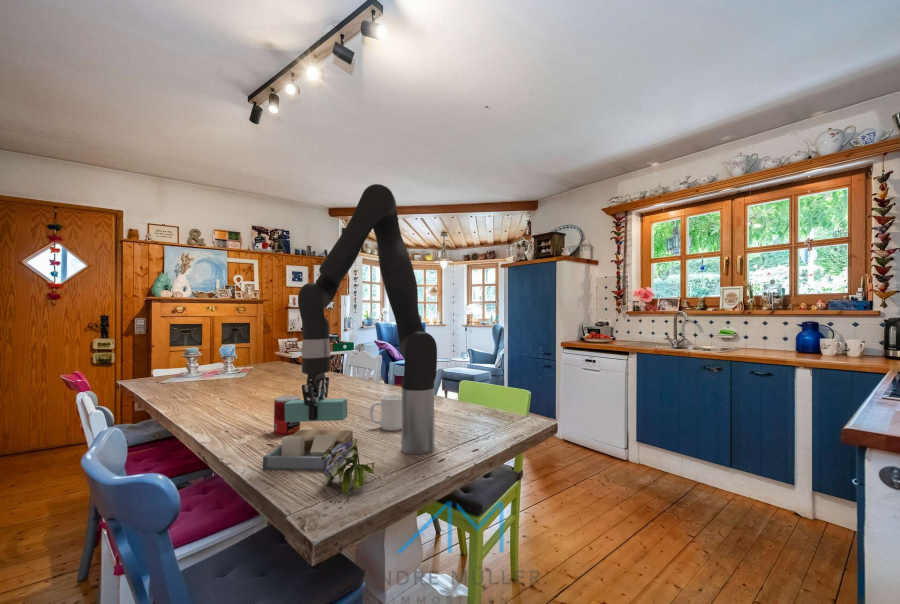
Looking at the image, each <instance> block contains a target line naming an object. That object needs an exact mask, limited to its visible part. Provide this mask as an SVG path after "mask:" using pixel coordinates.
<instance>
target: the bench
mask: <svg viewBox="0 0 900 604" xmlns="http://www.w3.org/2000/svg"><path fill="white" fill-rule="evenodd" d="M315 435H334V436H335V439H336V442H335V445H334V447H335V446H336V445H337V444H338V443H342V445H343V444H345V443H347V442H350V443H352V442H353V440H354V438H353V437H354V436H353V430H347V429H346V430H344V429H342V430H339V429H337V430H335V429H300V430H299V431H297V432H296V433H294V434H292V435H290V436H305V442H304V452H310V451H311V448H312V444H313V441H314V438H315Z"/></svg>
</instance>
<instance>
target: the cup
mask: <svg viewBox="0 0 900 604" xmlns="http://www.w3.org/2000/svg"><path fill="white" fill-rule="evenodd" d="M376 406H380V419H375V417H374V410H375V407H376ZM401 417H402V394H387V395H382V396H381V397H380V401H375V402H373V403H371V406H370V410H369V418H370V420H371V422H373V424H377V425H379V424H380V427H381V429H382V430H385V431H400V430H401Z"/></svg>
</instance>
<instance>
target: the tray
mask: <svg viewBox="0 0 900 604" xmlns="http://www.w3.org/2000/svg"><path fill="white" fill-rule="evenodd" d="M340 446H342V443H338V444H337V445H336V446H335V447H334V448H333V449H332V450H331V452H332V453H336V451H337V447H338V448H339V447H340ZM281 449H282V443H281V444H280V445H279V446H277V447H275V448H274V449H273V450H271V451H270V452H268V453H267V454H265V455H264V456H263V458H262V470H263V471H264V470H265V471H270V470H271V471H308V472H309V471H314V472H316V471H317V472H318V471H319V472H321V471H322V472H324V470H325V469H326V468H325V465H326V464H327V463H328V461H329V460H330V459H331V456H332V455H331V454H328V456H326V457H325V458H324V459H323V460H322V459H321V458H322V457H313V456H312V455H311V453H310V452H304V456H281Z"/></svg>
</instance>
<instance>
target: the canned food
mask: <svg viewBox="0 0 900 604" xmlns="http://www.w3.org/2000/svg"><path fill="white" fill-rule="evenodd" d="M291 400H301V396H298V395H281V396H277V397H276V398H274V402H273V403H274V404H273V405H274V406H273V407H274V411H273V432H274V434H275V435H276V436H280V435H281V436H283V435H286V436H291V435H293V434H294V433H296V432H297V431H299V430H301V422H285V405H284V404H285V403H287V402H289V401H291ZM283 437H284V436H283Z"/></svg>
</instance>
